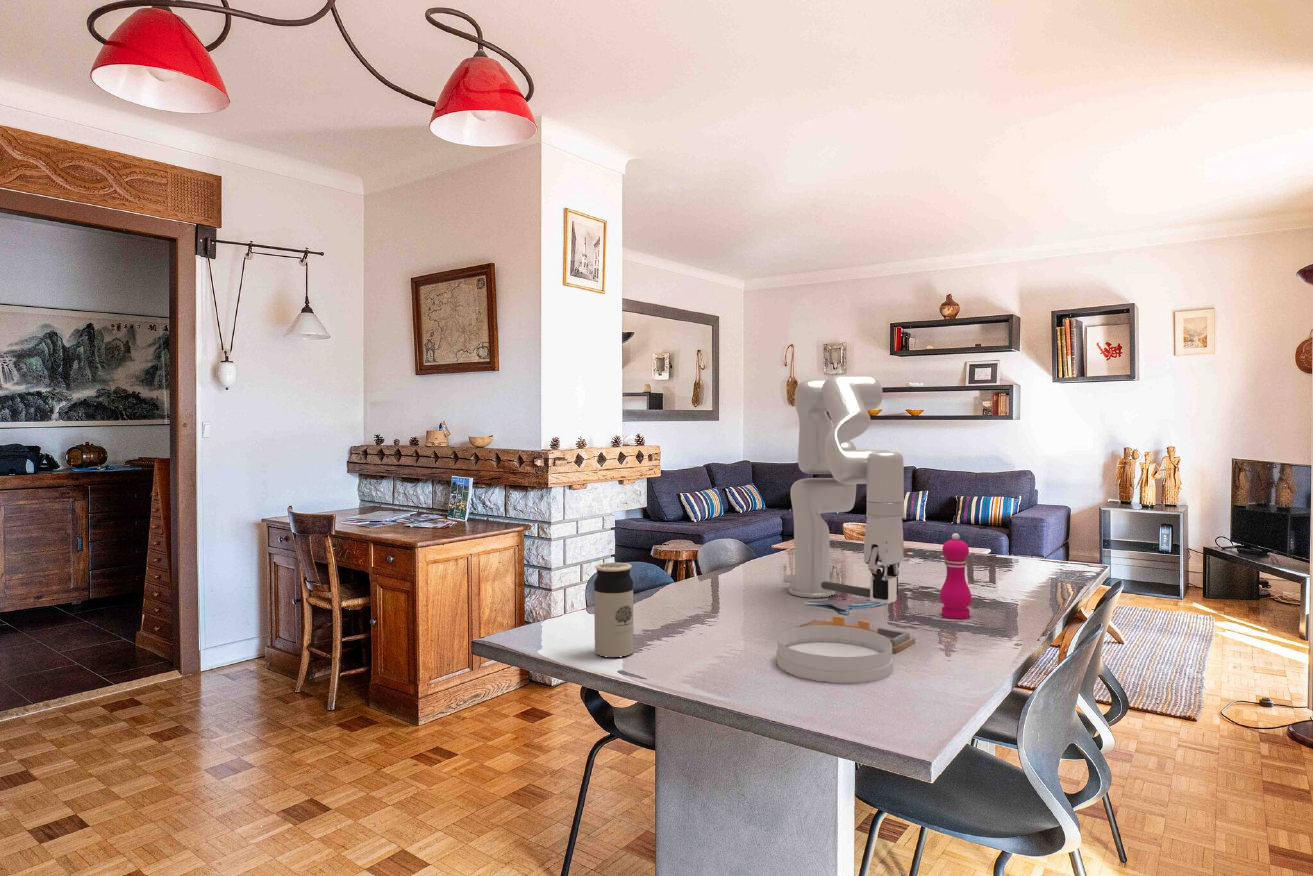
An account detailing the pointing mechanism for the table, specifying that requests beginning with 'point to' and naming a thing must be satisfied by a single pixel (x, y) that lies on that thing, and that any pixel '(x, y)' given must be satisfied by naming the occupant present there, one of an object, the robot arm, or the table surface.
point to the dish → (835, 654)
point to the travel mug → (613, 610)
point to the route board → (894, 648)
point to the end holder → (894, 635)
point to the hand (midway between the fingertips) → (885, 596)
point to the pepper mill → (955, 580)
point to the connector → (864, 589)
